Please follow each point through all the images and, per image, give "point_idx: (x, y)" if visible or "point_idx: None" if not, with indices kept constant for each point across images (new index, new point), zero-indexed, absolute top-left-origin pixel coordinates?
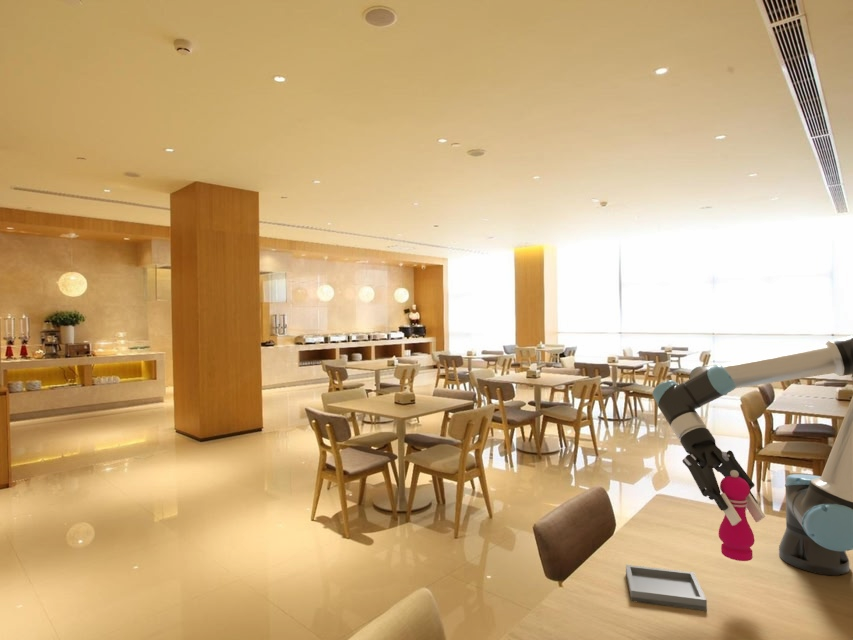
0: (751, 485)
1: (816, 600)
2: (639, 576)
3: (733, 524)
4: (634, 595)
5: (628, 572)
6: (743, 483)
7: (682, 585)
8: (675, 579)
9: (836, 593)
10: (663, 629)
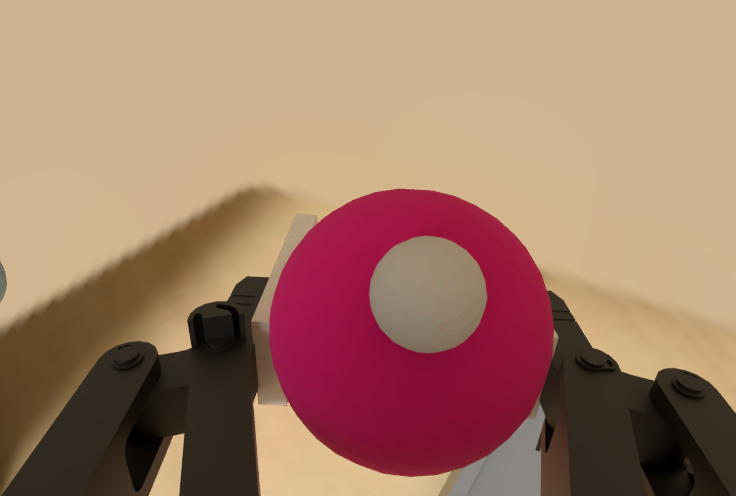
0: (148, 352)
1: (161, 302)
2: None
3: None
4: None
5: None
6: (410, 195)
7: (503, 493)
8: None
9: (66, 311)
10: (688, 327)
